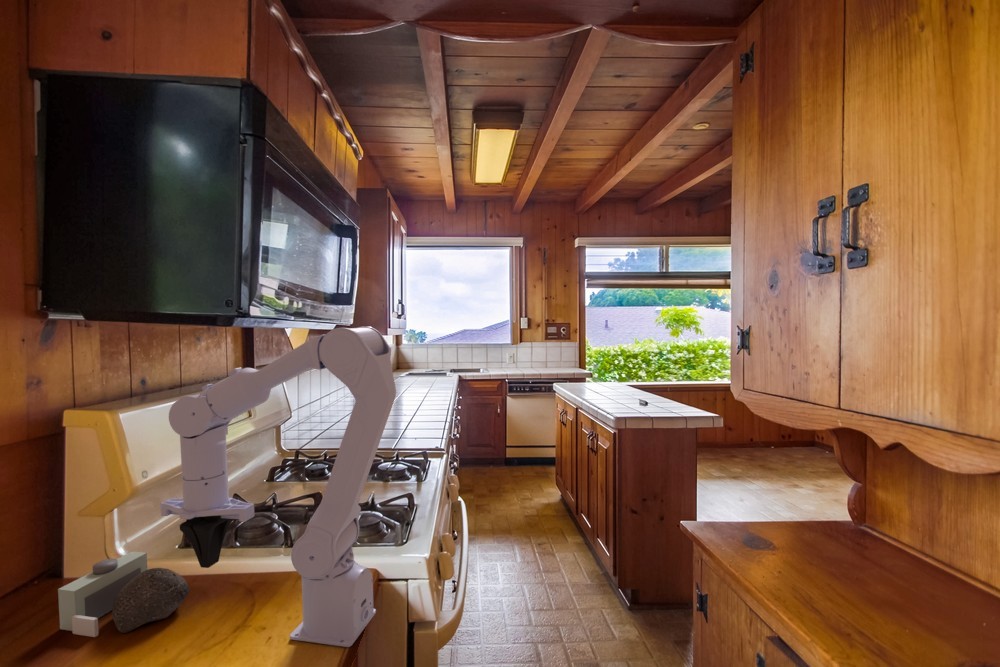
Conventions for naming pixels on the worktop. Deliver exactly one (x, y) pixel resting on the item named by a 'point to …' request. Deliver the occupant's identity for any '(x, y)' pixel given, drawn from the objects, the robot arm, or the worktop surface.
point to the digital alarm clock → (97, 592)
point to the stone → (148, 598)
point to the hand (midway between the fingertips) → (209, 564)
